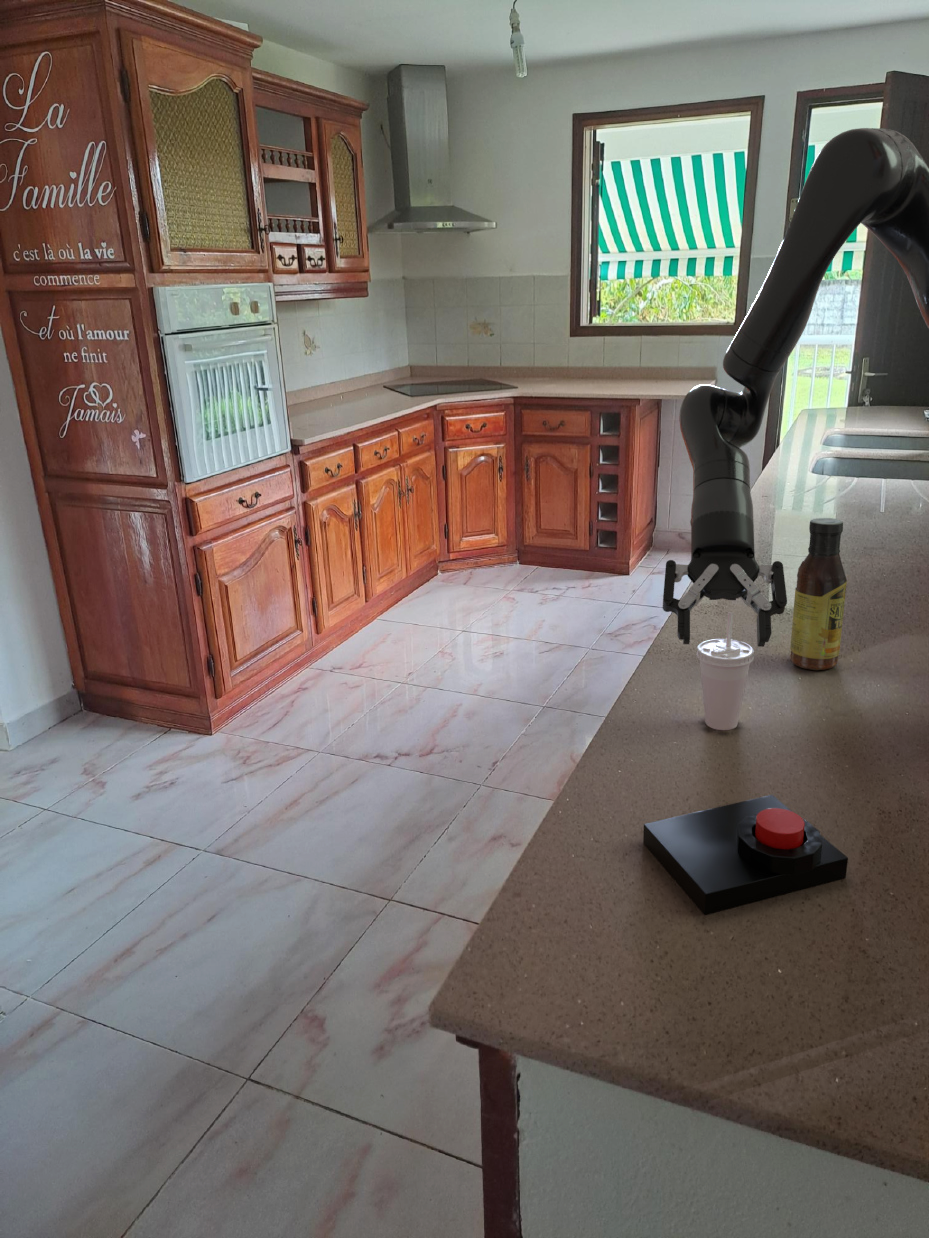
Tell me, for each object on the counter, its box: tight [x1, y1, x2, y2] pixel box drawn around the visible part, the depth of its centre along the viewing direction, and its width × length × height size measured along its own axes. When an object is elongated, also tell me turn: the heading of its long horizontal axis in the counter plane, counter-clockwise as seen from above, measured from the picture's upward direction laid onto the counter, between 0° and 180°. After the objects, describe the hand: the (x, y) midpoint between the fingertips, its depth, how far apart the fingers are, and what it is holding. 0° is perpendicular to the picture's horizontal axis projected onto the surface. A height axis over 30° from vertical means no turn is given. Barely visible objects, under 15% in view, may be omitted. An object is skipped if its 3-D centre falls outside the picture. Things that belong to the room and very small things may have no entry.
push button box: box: [642, 794, 849, 916], centre depth 80 cm, size 14×12×4 cm
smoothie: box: [696, 611, 755, 731], centre depth 103 cm, size 6×6×14 cm
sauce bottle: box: [789, 517, 848, 671], centre depth 117 cm, size 6×6×20 cm
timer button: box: [755, 808, 805, 850], centre depth 77 cm, size 4×4×2 cm
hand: (724, 643), depth 104 cm, fingers open, 8 cm apart
